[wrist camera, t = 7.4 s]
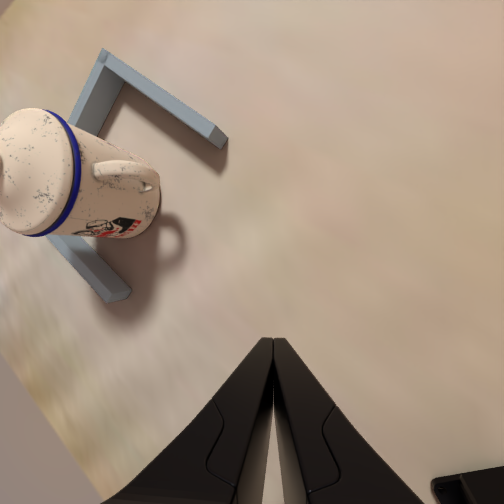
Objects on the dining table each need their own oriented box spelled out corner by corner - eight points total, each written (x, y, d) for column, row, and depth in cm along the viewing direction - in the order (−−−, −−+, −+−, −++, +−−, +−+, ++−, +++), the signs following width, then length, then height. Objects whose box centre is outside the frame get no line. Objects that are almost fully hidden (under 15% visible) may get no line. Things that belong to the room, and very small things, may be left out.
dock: (228, 137, 22) (215, 125, 20) (126, 298, 26) (106, 303, 24) (123, 65, 26) (102, 47, 23) (48, 215, 30) (24, 212, 27)
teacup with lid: (97, 242, 27) (-67, 238, 16) (94, 160, 27) (-71, 99, 16) (190, 236, 23) (60, 225, 12) (187, 141, 23) (54, 44, 12)
